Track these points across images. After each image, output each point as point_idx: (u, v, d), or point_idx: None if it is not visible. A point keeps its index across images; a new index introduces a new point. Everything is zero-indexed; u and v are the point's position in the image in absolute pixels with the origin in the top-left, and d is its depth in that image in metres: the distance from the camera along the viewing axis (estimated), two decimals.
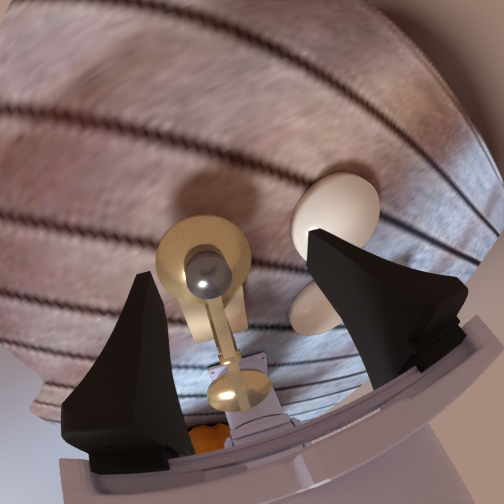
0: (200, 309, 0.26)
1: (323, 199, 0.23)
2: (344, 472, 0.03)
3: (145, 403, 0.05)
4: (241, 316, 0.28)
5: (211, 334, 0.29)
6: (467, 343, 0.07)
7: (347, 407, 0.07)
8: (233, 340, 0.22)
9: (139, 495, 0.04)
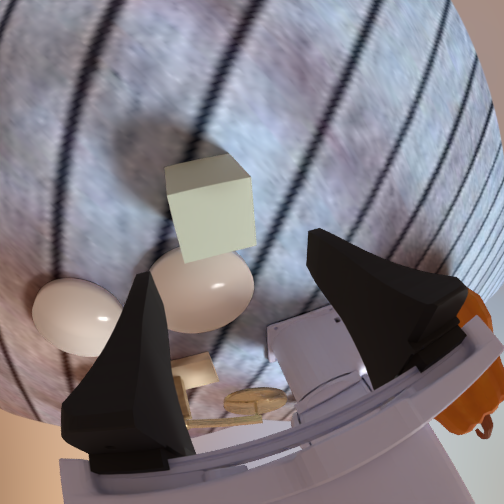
0: None
1: (65, 345, 0.22)
2: (344, 472, 0.03)
3: (145, 403, 0.05)
4: (190, 365, 0.29)
5: (209, 376, 0.32)
6: (467, 343, 0.07)
7: (347, 407, 0.07)
8: None
9: (139, 495, 0.04)
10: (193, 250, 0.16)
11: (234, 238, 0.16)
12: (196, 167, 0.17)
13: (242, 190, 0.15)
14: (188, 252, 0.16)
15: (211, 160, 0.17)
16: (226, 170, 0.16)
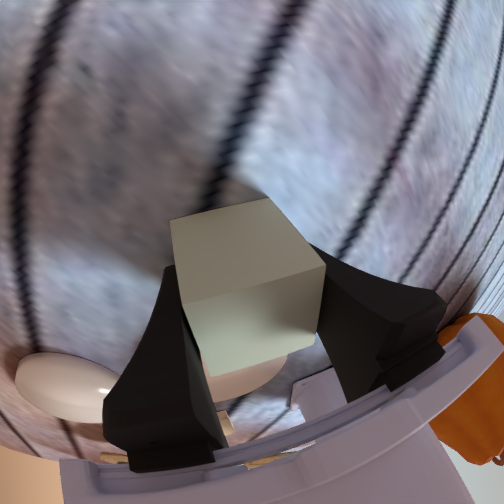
0: None
1: (59, 413, 0.16)
2: (344, 472, 0.03)
3: (195, 393, 0.06)
4: None
5: (225, 430, 0.26)
6: (467, 343, 0.07)
7: (347, 407, 0.07)
8: None
9: (139, 495, 0.04)
10: (225, 363, 0.10)
11: (286, 343, 0.10)
12: (222, 228, 0.11)
13: (310, 284, 0.09)
14: (217, 366, 0.10)
15: (245, 213, 0.11)
16: (278, 243, 0.10)
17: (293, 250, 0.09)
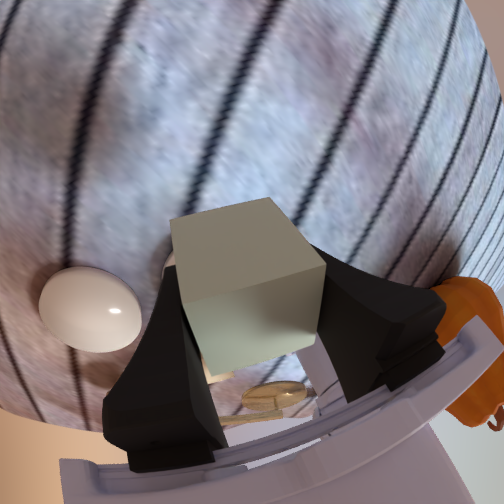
0: None
1: (73, 341, 0.21)
2: (344, 472, 0.03)
3: (195, 393, 0.06)
4: None
5: None
6: (467, 343, 0.07)
7: (347, 407, 0.07)
8: None
9: (139, 495, 0.04)
10: (225, 363, 0.10)
11: (286, 342, 0.10)
12: (222, 227, 0.11)
13: (310, 283, 0.09)
14: (217, 366, 0.10)
15: (246, 212, 0.11)
16: (278, 242, 0.10)
17: (293, 249, 0.09)
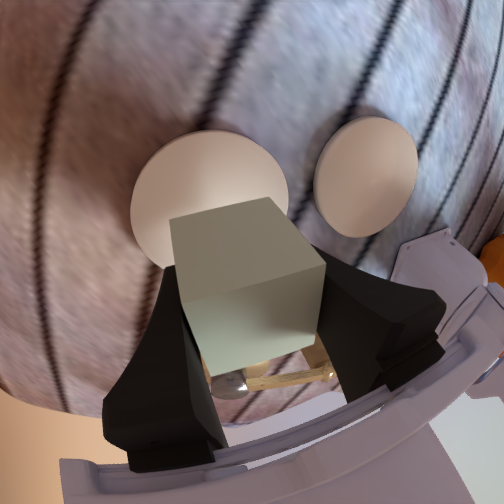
0: None
1: (171, 257, 0.17)
2: (344, 472, 0.03)
3: (195, 393, 0.06)
4: None
5: None
6: (467, 343, 0.07)
7: (347, 407, 0.07)
8: (313, 362, 0.21)
9: (139, 495, 0.04)
10: (224, 363, 0.10)
11: (286, 342, 0.10)
12: (222, 227, 0.11)
13: (310, 283, 0.09)
14: (217, 366, 0.10)
15: (245, 212, 0.11)
16: (278, 241, 0.10)
17: (293, 249, 0.09)
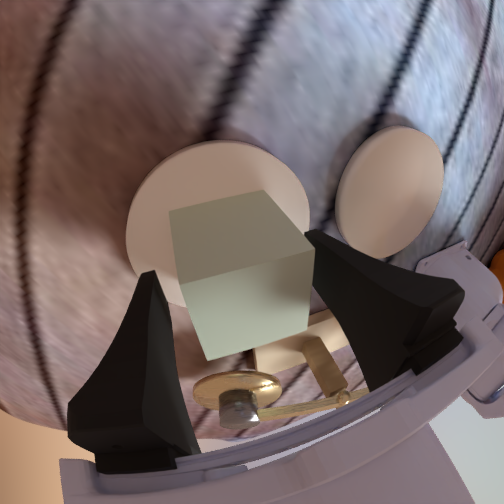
0: None
1: (174, 288, 0.15)
2: (344, 472, 0.03)
3: (153, 402, 0.06)
4: None
5: None
6: (467, 343, 0.07)
7: (347, 407, 0.07)
8: (328, 390, 0.19)
9: (139, 495, 0.04)
10: (220, 347, 0.11)
11: (279, 327, 0.11)
12: (218, 217, 0.11)
13: (300, 268, 0.09)
14: (213, 349, 0.11)
15: (241, 204, 0.12)
16: (270, 229, 0.10)
17: (284, 236, 0.10)
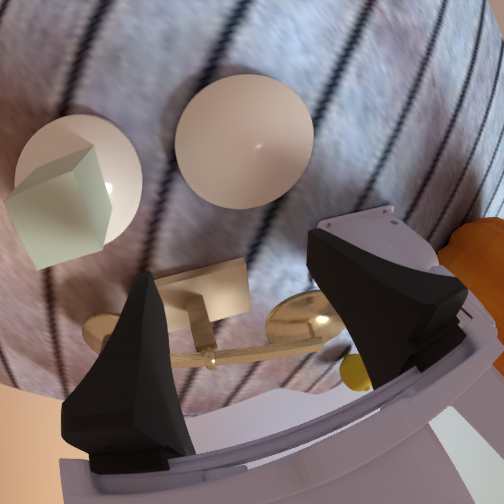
0: None
1: None
2: (344, 472, 0.03)
3: (145, 403, 0.05)
4: (218, 275, 0.23)
5: (240, 299, 0.26)
6: (467, 343, 0.07)
7: (347, 407, 0.07)
8: (195, 345, 0.20)
9: (139, 495, 0.04)
10: (40, 256, 0.12)
11: (75, 242, 0.12)
12: (52, 165, 0.12)
13: (67, 186, 0.10)
14: (36, 258, 0.12)
15: (70, 156, 0.13)
16: (65, 166, 0.11)
17: (67, 167, 0.11)
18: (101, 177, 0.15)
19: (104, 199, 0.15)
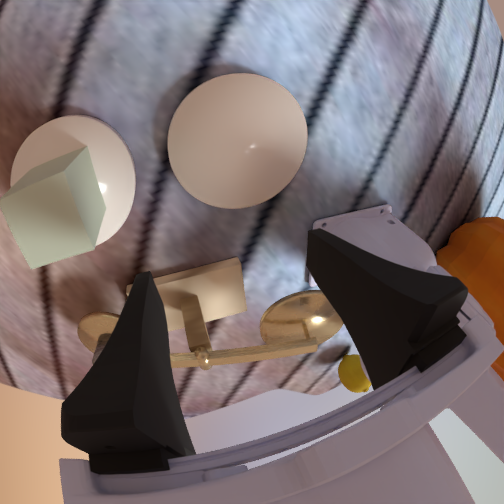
0: None
1: None
2: (344, 472, 0.03)
3: (145, 403, 0.05)
4: (213, 275, 0.23)
5: (235, 299, 0.26)
6: (467, 343, 0.07)
7: (347, 407, 0.07)
8: None
9: (139, 495, 0.04)
10: (33, 255, 0.12)
11: (67, 242, 0.12)
12: (45, 166, 0.12)
13: (59, 187, 0.10)
14: (30, 257, 0.12)
15: (64, 156, 0.13)
16: (58, 166, 0.11)
17: (59, 168, 0.11)
18: (94, 177, 0.15)
19: (97, 199, 0.15)
